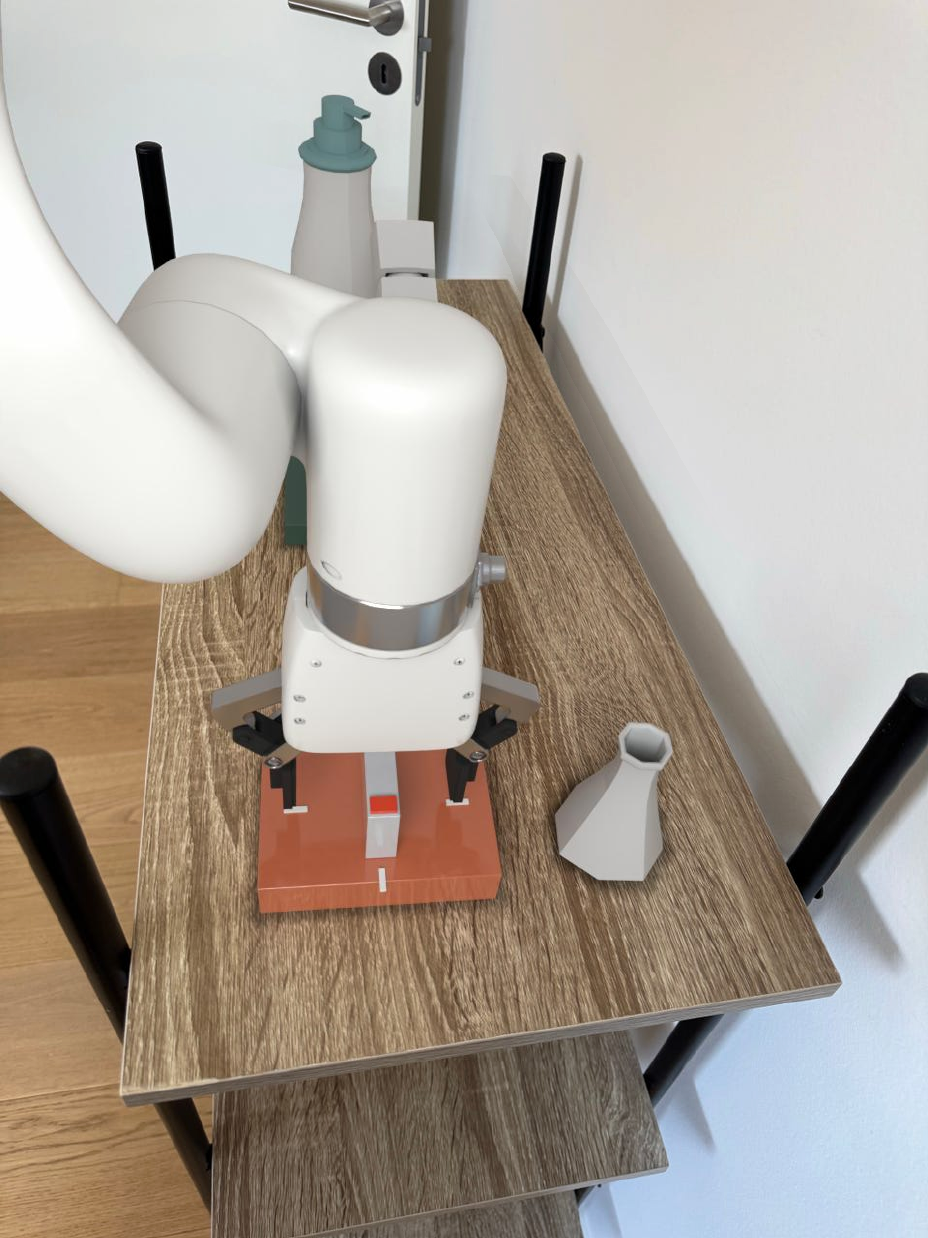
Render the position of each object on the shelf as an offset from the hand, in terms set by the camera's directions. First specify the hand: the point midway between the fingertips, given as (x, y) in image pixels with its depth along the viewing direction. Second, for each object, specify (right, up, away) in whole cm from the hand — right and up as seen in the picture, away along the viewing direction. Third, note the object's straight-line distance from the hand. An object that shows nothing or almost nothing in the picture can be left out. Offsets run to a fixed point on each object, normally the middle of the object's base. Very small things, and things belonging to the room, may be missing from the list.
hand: (372, 785), depth 54 cm
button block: (-4, +20, +25) cm, 32 cm away
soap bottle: (-8, +41, +46) cm, 62 cm away
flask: (+15, -4, +6) cm, 16 cm away
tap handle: (0, -2, +2) cm, 2 cm away
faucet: (-1, +30, +37) cm, 48 cm away
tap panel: (0, -4, +4) cm, 5 cm away
